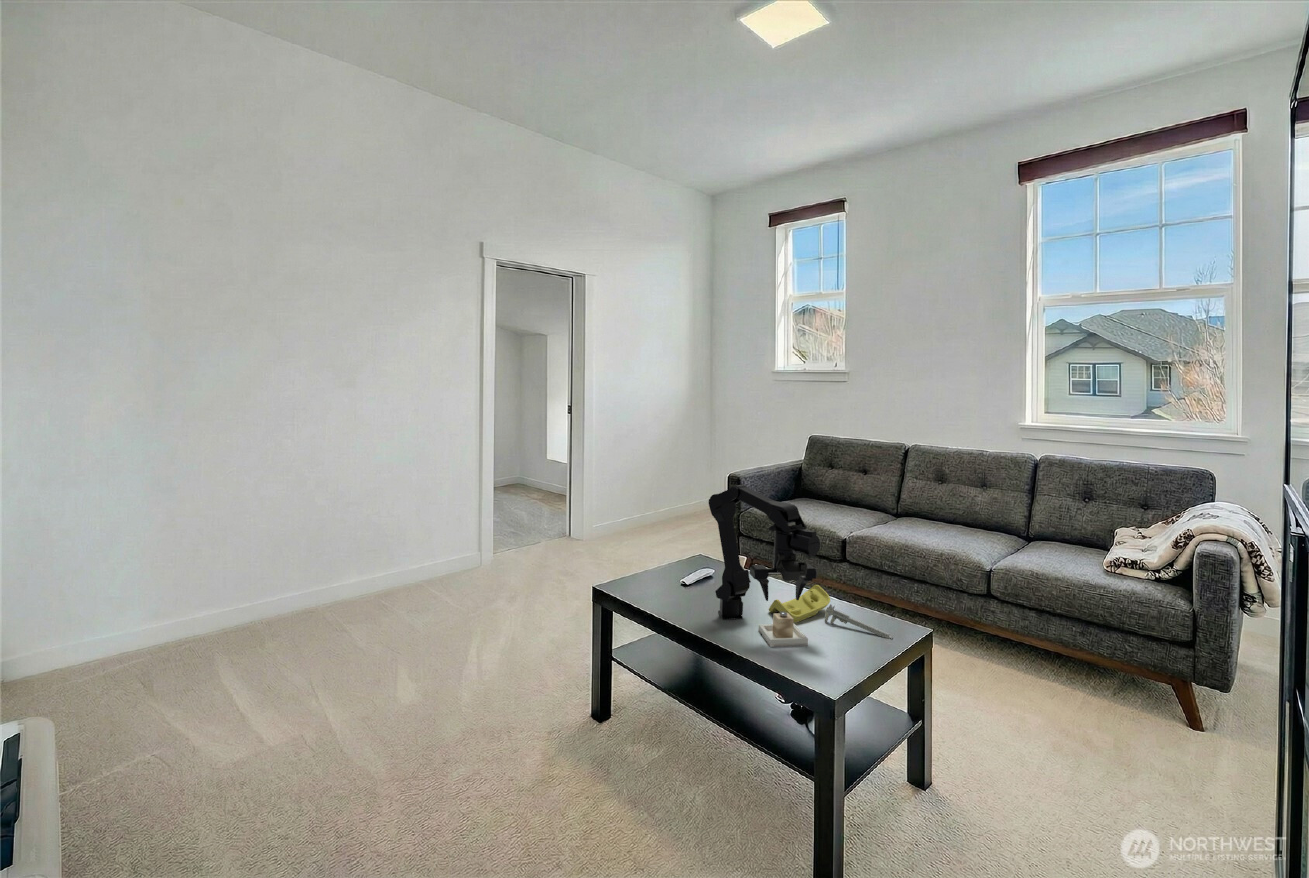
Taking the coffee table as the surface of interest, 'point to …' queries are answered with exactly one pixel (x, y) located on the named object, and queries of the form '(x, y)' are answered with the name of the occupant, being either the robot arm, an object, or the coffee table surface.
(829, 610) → the caliper
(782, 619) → the block
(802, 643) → the housing tray
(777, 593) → the coffee table surface
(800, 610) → the plastic component
